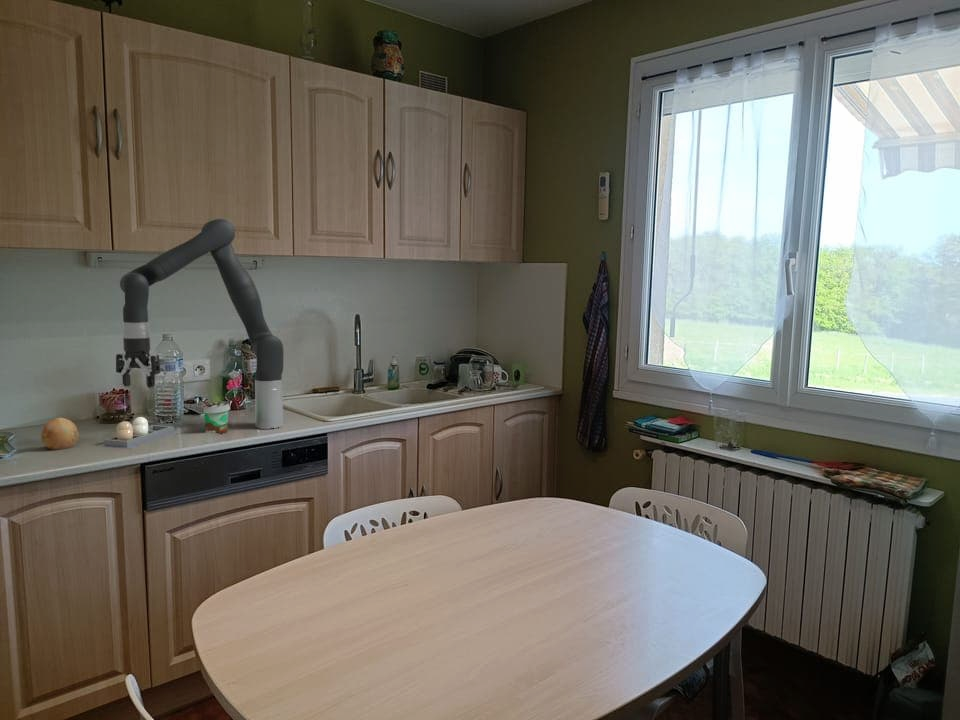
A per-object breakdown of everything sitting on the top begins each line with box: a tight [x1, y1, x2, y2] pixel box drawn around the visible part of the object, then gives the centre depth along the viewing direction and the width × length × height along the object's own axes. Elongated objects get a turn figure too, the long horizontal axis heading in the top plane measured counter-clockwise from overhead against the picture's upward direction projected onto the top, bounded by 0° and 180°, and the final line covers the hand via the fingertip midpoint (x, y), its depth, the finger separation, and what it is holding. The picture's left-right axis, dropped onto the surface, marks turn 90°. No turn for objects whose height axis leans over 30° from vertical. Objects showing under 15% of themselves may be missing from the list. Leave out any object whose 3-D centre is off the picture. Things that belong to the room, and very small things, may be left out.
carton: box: [97, 424, 182, 450], centre depth 215 cm, size 24×12×3 cm, turn 168°
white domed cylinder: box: [132, 416, 149, 436], centre depth 215 cm, size 4×4×7 cm
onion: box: [40, 417, 79, 451], centre depth 202 cm, size 10×10×10 cm
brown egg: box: [116, 420, 133, 441], centre depth 208 cm, size 4×4×7 cm
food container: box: [203, 400, 231, 435], centre depth 229 cm, size 12×6×10 cm, turn 179°
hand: (138, 386), depth 213 cm, fingers open, 8 cm apart
